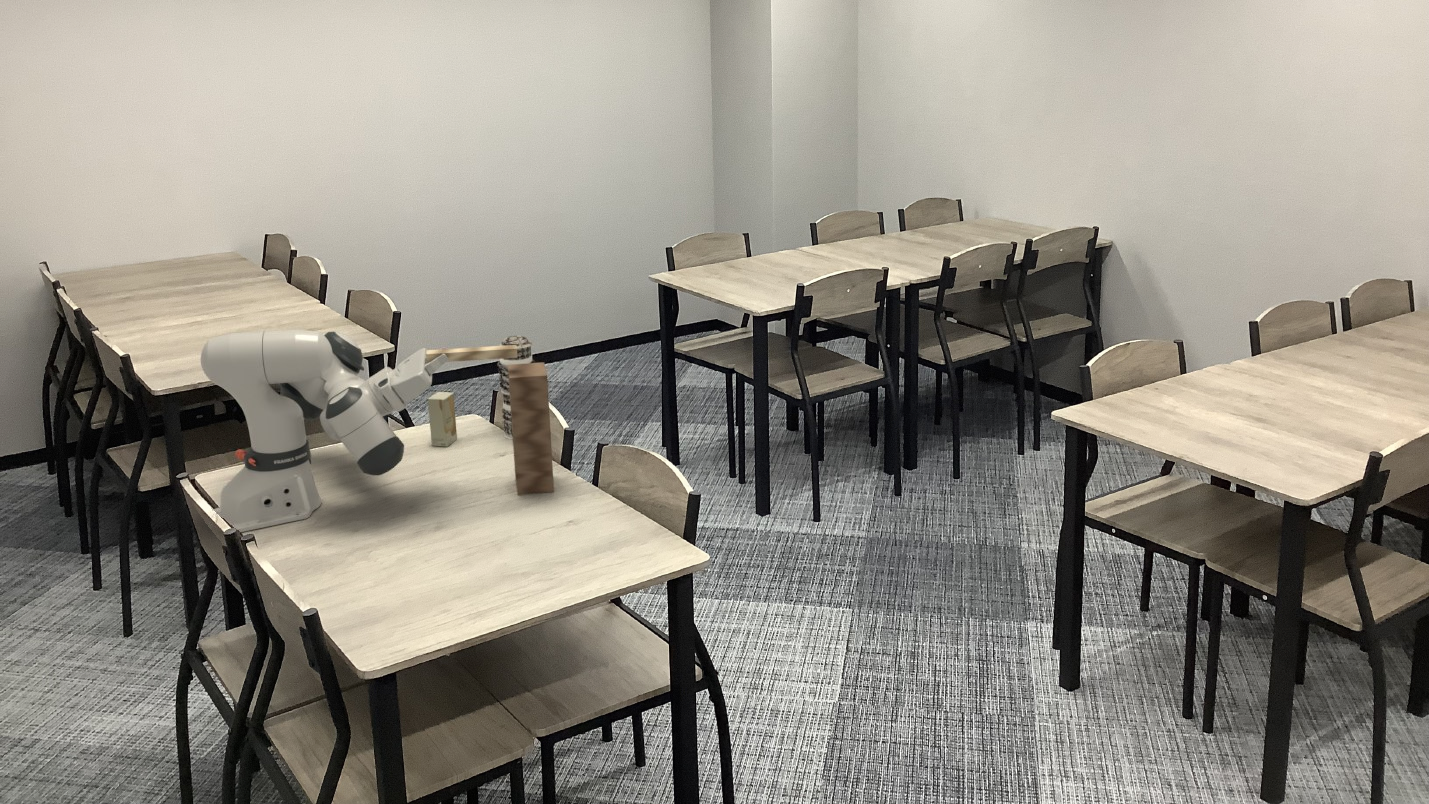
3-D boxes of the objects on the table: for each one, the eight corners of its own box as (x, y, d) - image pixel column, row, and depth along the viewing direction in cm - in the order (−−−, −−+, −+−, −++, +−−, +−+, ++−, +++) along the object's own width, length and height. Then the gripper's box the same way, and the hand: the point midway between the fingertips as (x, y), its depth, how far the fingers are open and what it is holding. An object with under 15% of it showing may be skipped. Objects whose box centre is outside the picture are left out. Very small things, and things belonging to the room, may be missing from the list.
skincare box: (447, 447, 292) (443, 399, 289) (431, 446, 293) (426, 399, 289) (458, 438, 298) (454, 391, 295) (441, 437, 299) (437, 390, 295)
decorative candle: (518, 425, 307) (511, 331, 299) (546, 431, 302) (541, 336, 294) (494, 436, 299) (487, 340, 291) (523, 442, 295) (517, 345, 287)
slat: (427, 363, 254) (426, 354, 253) (427, 359, 257) (426, 350, 256) (517, 357, 258) (516, 348, 257) (516, 353, 260) (516, 344, 260)
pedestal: (517, 495, 264) (509, 377, 255) (515, 478, 273) (507, 364, 264) (553, 491, 265) (547, 375, 257) (550, 475, 274) (544, 362, 266)
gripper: (403, 385, 267) (455, 351, 267) (398, 414, 248) (455, 378, 248) (386, 362, 264) (439, 329, 264) (380, 390, 245) (437, 354, 245)
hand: (446, 353), depth 256 cm, fingers closed on slat, 3 cm apart
